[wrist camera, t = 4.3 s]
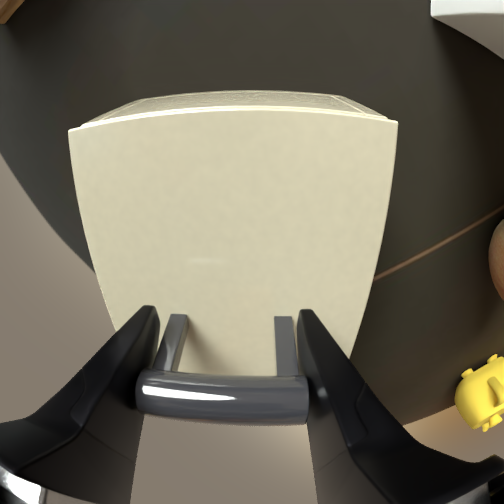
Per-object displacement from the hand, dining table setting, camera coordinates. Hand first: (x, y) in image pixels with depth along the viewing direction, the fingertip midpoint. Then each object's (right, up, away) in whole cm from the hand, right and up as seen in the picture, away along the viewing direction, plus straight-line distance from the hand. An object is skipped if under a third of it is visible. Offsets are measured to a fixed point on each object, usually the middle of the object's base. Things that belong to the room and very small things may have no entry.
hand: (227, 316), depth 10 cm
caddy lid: (0, +1, +1) cm, 2 cm away
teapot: (+38, -18, +24) cm, 48 cm away
